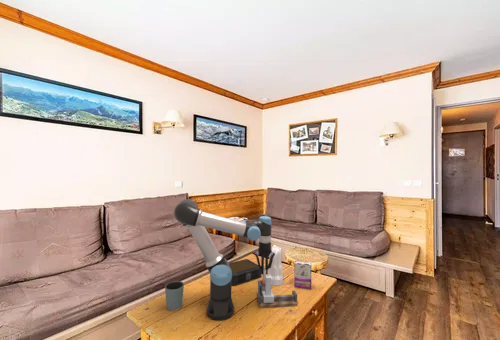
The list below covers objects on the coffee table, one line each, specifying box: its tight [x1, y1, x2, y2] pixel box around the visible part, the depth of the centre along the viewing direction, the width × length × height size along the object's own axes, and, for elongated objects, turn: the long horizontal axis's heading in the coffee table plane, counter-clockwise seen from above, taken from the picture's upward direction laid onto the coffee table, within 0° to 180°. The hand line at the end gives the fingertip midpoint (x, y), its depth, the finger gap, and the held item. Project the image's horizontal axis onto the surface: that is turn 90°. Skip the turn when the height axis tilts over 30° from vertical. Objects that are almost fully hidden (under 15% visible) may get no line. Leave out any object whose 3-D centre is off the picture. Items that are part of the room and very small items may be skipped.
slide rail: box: [256, 290, 298, 309], centre depth 137 cm, size 23×8×6 cm, turn 98°
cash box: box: [228, 258, 262, 287], centre depth 170 cm, size 25×20×8 cm
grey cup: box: [164, 280, 185, 311], centre depth 132 cm, size 10×10×12 cm
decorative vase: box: [267, 244, 284, 287], centre depth 162 cm, size 11×11×25 cm
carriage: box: [262, 275, 274, 303], centre depth 136 cm, size 6×6×14 cm
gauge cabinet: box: [257, 279, 265, 296], centre depth 145 cm, size 7×6×8 cm
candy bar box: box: [293, 260, 312, 290], centre depth 156 cm, size 11×5×16 cm, turn 76°
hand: (264, 279), depth 145 cm, fingers closed
